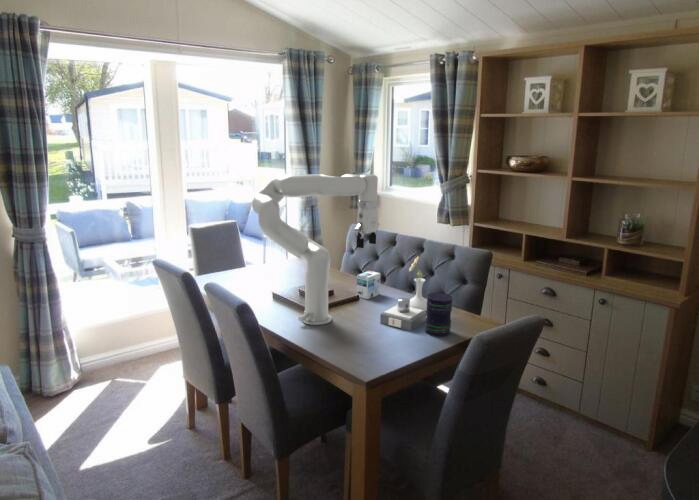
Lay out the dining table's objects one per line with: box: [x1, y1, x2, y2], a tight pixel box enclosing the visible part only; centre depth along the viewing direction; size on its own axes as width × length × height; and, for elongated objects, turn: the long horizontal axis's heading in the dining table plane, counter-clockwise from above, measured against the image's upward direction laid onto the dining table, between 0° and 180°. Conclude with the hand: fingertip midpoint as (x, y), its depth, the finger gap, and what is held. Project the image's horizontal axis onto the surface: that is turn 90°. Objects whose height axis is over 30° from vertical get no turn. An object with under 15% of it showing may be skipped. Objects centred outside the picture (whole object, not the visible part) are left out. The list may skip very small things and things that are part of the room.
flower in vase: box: [408, 256, 427, 312], centre depth 231 cm, size 13×11×25 cm
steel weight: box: [397, 297, 411, 313], centre depth 217 cm, size 5×5×5 cm
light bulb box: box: [356, 270, 381, 300], centre depth 251 cm, size 11×7×11 cm, turn 143°
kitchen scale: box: [379, 304, 427, 332], centre depth 218 cm, size 15×14×5 cm
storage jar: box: [424, 292, 453, 338], centre depth 207 cm, size 10×10×15 cm
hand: (366, 245), depth 220 cm, fingers open, 9 cm apart
